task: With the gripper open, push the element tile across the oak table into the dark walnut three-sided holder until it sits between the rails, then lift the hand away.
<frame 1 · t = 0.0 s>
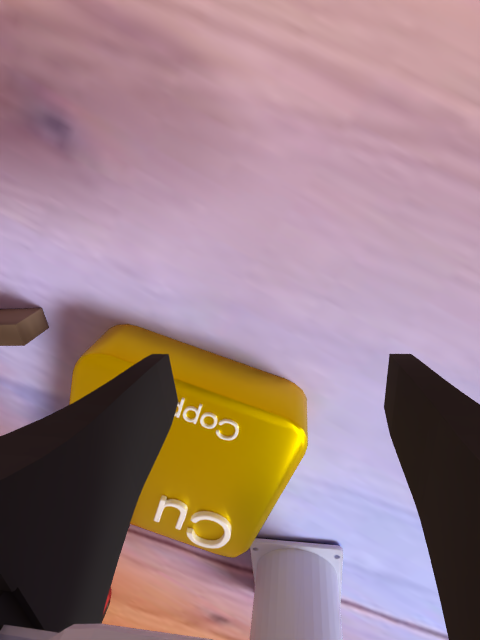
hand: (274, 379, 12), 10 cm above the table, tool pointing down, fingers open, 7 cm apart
element tile: (188, 424, 28), on the table
walnut holder: (4, 423, 30), on the table
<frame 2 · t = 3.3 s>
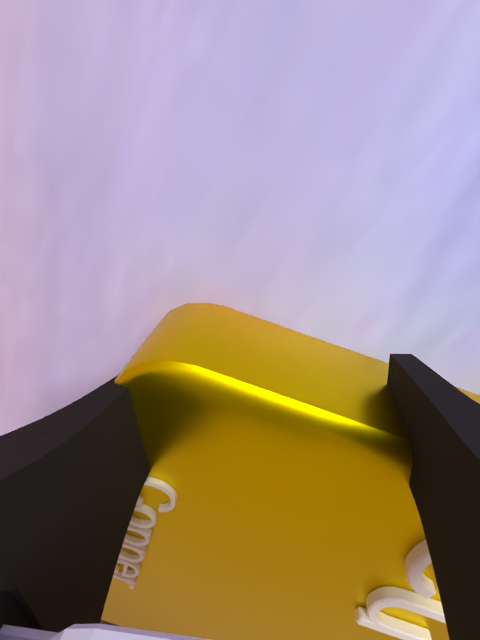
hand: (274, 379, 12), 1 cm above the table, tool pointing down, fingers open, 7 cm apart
element tile: (290, 477, 16), on the table, touching gripper
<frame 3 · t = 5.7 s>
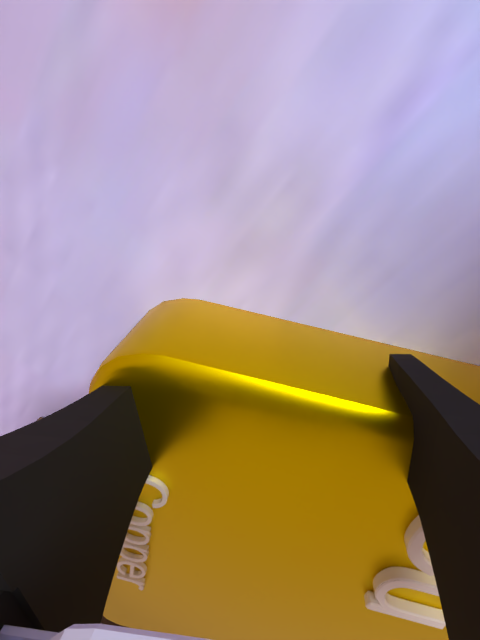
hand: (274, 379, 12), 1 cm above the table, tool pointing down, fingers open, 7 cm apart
element tile: (293, 468, 16), on the table
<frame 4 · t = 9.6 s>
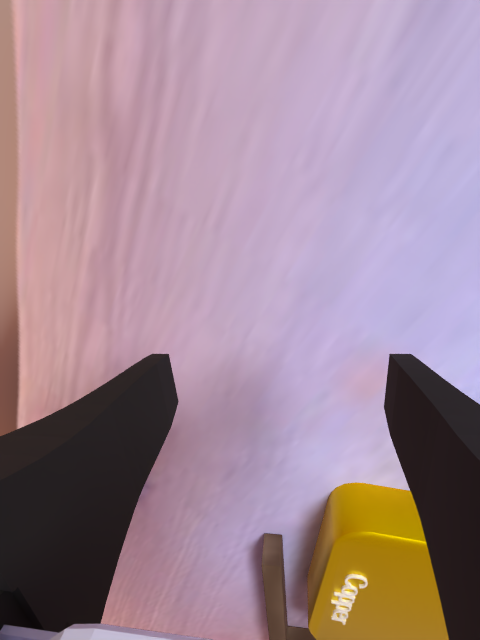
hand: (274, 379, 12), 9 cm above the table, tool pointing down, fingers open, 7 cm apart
element tile: (408, 549, 29), on the table
walnut holder: (387, 597, 32), on the table
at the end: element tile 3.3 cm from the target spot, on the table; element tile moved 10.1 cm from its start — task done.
